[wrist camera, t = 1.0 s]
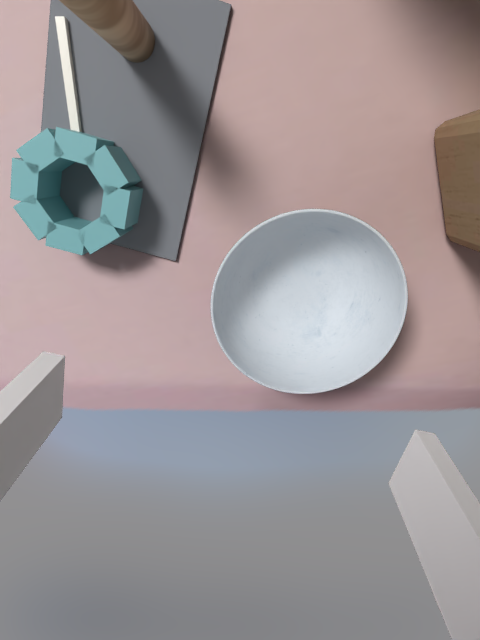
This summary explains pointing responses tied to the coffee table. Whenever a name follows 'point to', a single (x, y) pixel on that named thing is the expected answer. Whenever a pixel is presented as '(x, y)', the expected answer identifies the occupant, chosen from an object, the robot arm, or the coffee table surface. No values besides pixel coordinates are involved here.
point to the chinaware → (309, 301)
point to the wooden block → (460, 177)
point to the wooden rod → (117, 25)
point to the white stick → (68, 72)
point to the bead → (45, 182)
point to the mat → (141, 111)
